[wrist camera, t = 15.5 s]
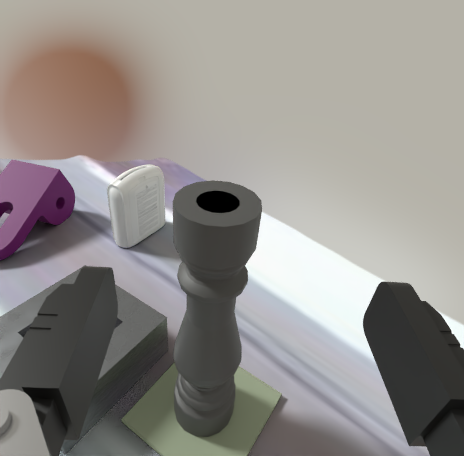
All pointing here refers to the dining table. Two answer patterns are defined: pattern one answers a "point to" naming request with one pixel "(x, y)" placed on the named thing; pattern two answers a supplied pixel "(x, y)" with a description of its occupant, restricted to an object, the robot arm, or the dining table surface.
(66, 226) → the dining table surface
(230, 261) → the candle holder
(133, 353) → the socket block
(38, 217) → the mounting bracket
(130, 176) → the photo printer
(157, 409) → the mat
